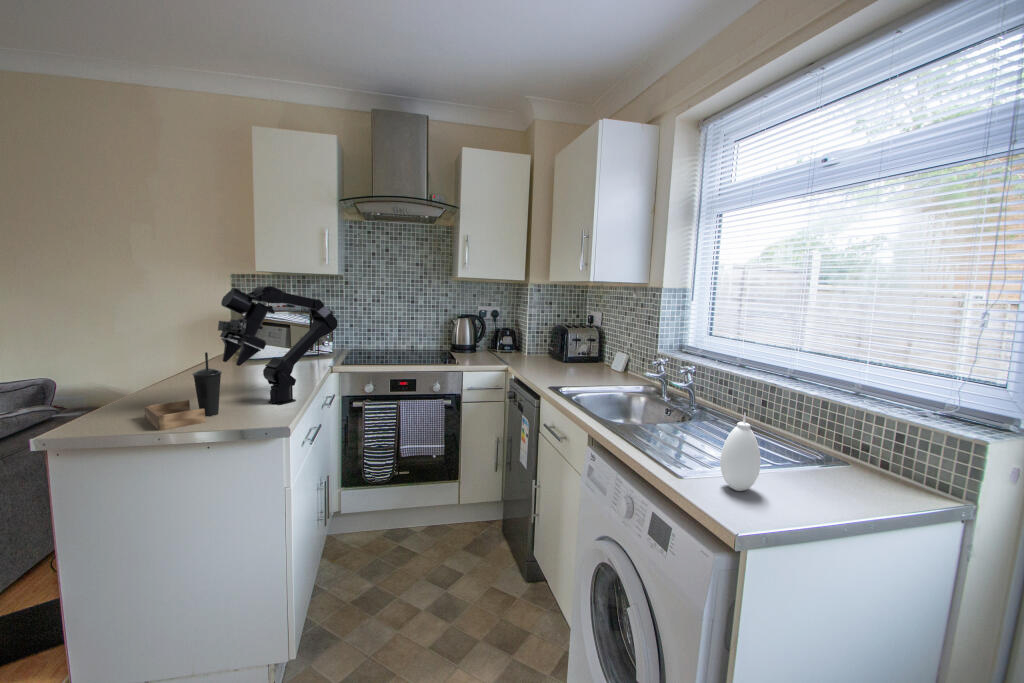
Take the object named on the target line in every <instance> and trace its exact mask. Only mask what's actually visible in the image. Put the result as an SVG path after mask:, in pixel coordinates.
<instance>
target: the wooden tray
mask: <svg viewBox="0 0 1024 683" xmlns="http://www.w3.org/2000/svg"><path fill="white" fill-rule="evenodd" d="M190 405H191V404H190V400H189V399H184V400H177V401H170V402H163V403H156V404H150V405H145V406H144V407H143V408H144V419H145V420H146V421H147V420H148V421H149V422H150V424H151V425H152V424H153V425H154V426H155V427H154V426H153V425H152V426H153V427H154V428H156V429H157V428H158V429H159V430H160V431H164V430H163V429H165V430H170V428H171V429H176V428H180V427H186V426H192V425H197V424H203V423H206V417H205V409H204V408H203V409H199V408H197V409H191V406H190ZM148 421H147V422H148ZM149 422H148V423H149ZM158 429H157V430H158ZM159 430H158V431H159Z"/></svg>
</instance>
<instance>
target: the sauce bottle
mask: <svg viewBox="0 0 1024 683" xmlns="http://www.w3.org/2000/svg"><path fill="white" fill-rule="evenodd" d="M746 413H747V412H746V411H744V413H743V418H742V421H739V422H737V423H736V426H735V427H734V428H733V429H732V430H731V431H730V432H729V434H728V436H727V438H726V439H725V441H724V443H723V447H722V449H721V453H720V460H719V464H720V465H719V466H720V471H721V475H722V478H723V480H724V482H725V483H726V484H727V485H728V486H729V488H731V489H732V490H734V491H737V492H741V491H746V490H747V489H749V488H751V487H752V486H753V485H755V483H756V481H757V480H758V477H759V475H760V471H761V464H762V463H761V459H762V458H761V453H760V452H761V451H760V447H759V443H758V441H757V438H756V435H755V434H754V432H753V430H752V428H751V427H752V426H751V424H750V423H748V422H746V418H747V414H746Z"/></svg>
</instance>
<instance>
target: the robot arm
mask: <svg viewBox="0 0 1024 683" xmlns="http://www.w3.org/2000/svg"><path fill="white" fill-rule="evenodd" d="M253 301H254V302H253ZM256 302H257V303H256ZM264 303H265V304H285V305H290V306H295V307H300V308H301V307H302V308H305V309H308V310H309V313H310V317H311V318H312V323H311V324H310V328H309V330H308V331H307V332H306V333H305V334H304V335H303V336H302V337H301V338H300V339H299V340H298V341H297V342H296V343H295V344H294V345H293V346H292V347H291V348H290V349H289V350H288V351H287V352H286V353H285V354H284V355H283V356H282V357H280V358H279V357H272V358H271V360H270V361H269V362H268V363H266V364H265V365H264V366H265V367H264V368H263V370H262V372H263V374H262V375H263V377H264V379H265V380H267V382H268V384H269V385H270V390H269V397H270V398H269V400H268V403H270V402H272V403H271V404H275V403H277V404H276V405H284V404H283V403H285V404H288V403H287V402H289V403H293V402H295V401H297V399H294V395H293V390H294V389H293V386H294V387H295V385H296V383H297V379H296V378H294V377H293V376H292V375H291V374H292V373H293V370H294V367H295V365H296V364H297V363H298V362H299V360H301V359H302V357H303V356H305V354H307V353H308V352H309V350H310V349H311V348H312V347H313V346H314V345H315V344H316V343H317V342H318V341H319V340H320V339H321V338H323V337H325V336H327V335H329V334H331V333H332V332H334V331H335V330H336V329H337V328H338V326H339V325H338V320H337V318H336V317H335V316H334V315H333V313H332V312H331V310H329V308H327V307H326V306H325V304H324V302H323V301H322V300H320V299H318V298H317V299H316V298H312V297H311V298H310V297H307V296H302V295H298V294H297V295H296V294H293V293H287V292H285V291H283V290H282V289H280V288H278V287H275V286H271V285H258V286H256V287H255V288H254V290H253V291H251V292H249V293H245V292H243V291H241V290H240V289H238V288H236V287H231V289H230V290H229V291H228V292H227V293H226V294H225V295H224V296H223V297H222V299H221V303H220V305H221V306H222V307H224V308H226V309H228V310H231V311H232V312H234V313H236V314H238V315H241V314H244V315H243V317H242V318H238V319H230V320H229V321H227V320H218V327H217V331H220V335H219V337H221V341H222V342H223V344H224V349H223V356H222V362H223V363H227V362H228V361H229V360H230V359H231V358H232V357H233V356H234V355H235V354H236V353H237V352H238V350H240V352H239V355H238V357H237V360H236V364H235V365H236V366H237V367H240V366H241V365H242V364H244V363H246V361H248V360H249V359H251V358H252V357H254V355H256V354H257V353H259V352H261V351H262V350H265V347H266V346H267V342H266V340H264V339H262V338H260V337H258V336H257V335H258V333H259V330H263V329H264V326H262V324H263V323H264V320H265V318H266V317H267V315H268V314H273V315H274V314H276V312H275V310H274V308H273V305H265V304H264ZM292 401H293V402H292Z"/></svg>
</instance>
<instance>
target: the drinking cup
mask: <svg viewBox="0 0 1024 683" xmlns="http://www.w3.org/2000/svg"><path fill="white" fill-rule="evenodd" d="M208 356H209V353H208V352H204V357H205V358H204V359H205V360H204V361H205V368H202V369H199V370H197V371H195V372H193V373H192V376H193V379H194V386H195V391H196V392H195V393H196V398H197V404H198V409H203V408H204V409H205V416H209V417H214V416H213V415H215V416H217V415H219V413H220V412H219V409H220V408H219V407H220V393H221V392H220V391H221V378H222V375H221V374H223V373H222V370H218V369H215V368H210V367H209V357H208ZM216 414H217V415H216Z"/></svg>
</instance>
